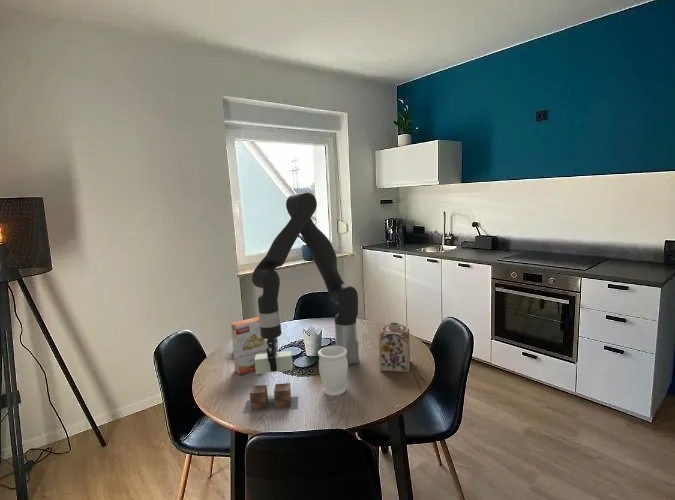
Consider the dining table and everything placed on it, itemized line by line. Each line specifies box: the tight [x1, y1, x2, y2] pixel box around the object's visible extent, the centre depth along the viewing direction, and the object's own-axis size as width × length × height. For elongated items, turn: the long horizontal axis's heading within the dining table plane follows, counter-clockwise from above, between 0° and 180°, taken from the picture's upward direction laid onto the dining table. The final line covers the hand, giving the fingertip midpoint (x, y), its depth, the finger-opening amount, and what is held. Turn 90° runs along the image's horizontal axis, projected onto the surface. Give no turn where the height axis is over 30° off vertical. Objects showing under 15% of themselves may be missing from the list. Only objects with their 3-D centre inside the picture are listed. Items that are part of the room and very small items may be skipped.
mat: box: [242, 396, 299, 414], centre depth 128 cm, size 18×8×1 cm, turn 94°
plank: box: [255, 350, 293, 375], centre depth 138 cm, size 13×4×6 cm, turn 96°
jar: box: [317, 345, 349, 396], centre depth 136 cm, size 11×10×15 cm
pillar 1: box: [249, 384, 269, 410], centre depth 128 cm, size 5×5×6 cm
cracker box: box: [230, 316, 267, 376], centre depth 157 cm, size 14×6×21 cm, turn 126°
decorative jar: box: [378, 321, 411, 373], centre depth 153 cm, size 12×12×18 cm
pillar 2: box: [273, 382, 292, 408], centre depth 128 cm, size 5×5×6 cm
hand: (274, 367), depth 138 cm, fingers closed on plank, 4 cm apart
